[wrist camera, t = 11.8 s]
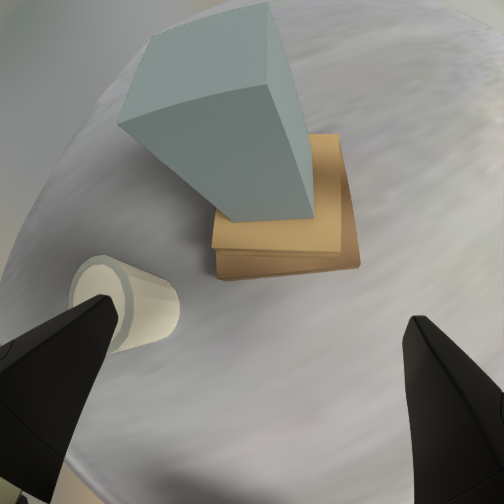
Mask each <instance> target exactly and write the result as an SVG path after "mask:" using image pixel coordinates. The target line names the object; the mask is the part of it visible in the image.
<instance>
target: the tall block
mask: <svg viewBox="0 0 504 504" xmlns="http://www.w3.org/2000/svg"><path fill="white" fill-rule="evenodd" d="M117 125H118V126H120V127H121V128H122V129H123V130H125V131H126V132H127V133H128V134H129V135H131V136H132V137H133V138H134V139H135V140H137V141H138V142H139V143H140V144H141V145H143V146H144V147H145V148H146V149H147V150H149V151H150V152H151V153H152V154H153V155H155V156H156V157H157V158H158V159H159V160H161V161H162V162H163V163H164V164H165V165H167V166H168V167H169V168H170V169H171V170H172V171H174V172H175V173H176V174H177V175H178V176H180V177H181V178H182V179H183V180H184V181H186V182H187V183H188V184H189V185H190V186H191V187H193V188H194V189H195V190H196V191H197V192H199V193H200V194H201V195H202V196H203V197H204V198H206V199H207V200H208V201H209V202H210V203H212V204H213V205H214V206H215V207H216V208H217V209H219V210H220V211H221V212H222V213H223V214H225V215H226V216H227V217H228V218H229V219H230V220H232V221H233V222H234V223H239V222H255V221H273V220H292V219H313V218H315V213H314V186H313V166H312V149H311V143H310V139H309V135H308V131H307V127H306V123H305V119H304V115H303V112H302V108H301V104H300V101H299V97H298V94H297V90H296V87H295V83H294V80H293V76H292V73H291V70H290V67H289V63H288V60H287V57H286V54H285V51H284V48H283V45H282V42H281V39H280V36H279V33H278V30H277V27H276V24H275V21H274V18H273V16H272V13H271V10H270V8H269V5H268V2H266V3H261V4H256V5H251V6H246V7H242V8H238V9H234V10H230V11H226V12H222V13H219V14H215V15H212V16H208V17H205V18H202V19H199V20H196V21H193V22H190V23H187V24H184V25H181V26H178V27H176V28H173V29H170V30H168V31H165V32H163V33H160V34H158V35H155V36H153V37H152V38H151V40H150V42H149V44H148V46H147V49H146V51H145V53H144V55H143V57H142V60H141V62H140V64H139V67H138V69H137V71H136V74H135V76H134V79H133V81H132V84H131V86H130V89H129V91H128V94H127V97H126V99H125V102H124V105H123V108H122V110H121V113H120V116H119V119H118V122H117Z"/></svg>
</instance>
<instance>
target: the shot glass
mask: <svg viewBox="0 0 504 504" xmlns="http://www.w3.org/2000/svg"><path fill="white" fill-rule="evenodd" d="M98 294H104V295H109V296H110V297H111V298H112V300H113V303H114V305H115V308H116V310H117V313H118V323H117V326H116V329H115V331H114V334H113V337H112V339H111V342H110V345H109V348H108V351H107V354H111V353H115V352H119V351H123V350H126V349H130V348H134V347H137V346H141V345H144V344H148V343H152V342H155V341H158V340H161V339H163V338H165V337H168V336H169V335H170V333H171V332H172V331H173V330H174V329H175V328H176V325H177V322H178V319H179V316H180V302H179V299H178V296H177V294H176V291H175V289H174V288H173V287H172V286H171V285H170V283H169V282H168V281H166V280H164V279H162V278H160V277H157V276H155V275H152V274H150V273H147V272H145V271H143V270H140V269H138V268H135V267H133V266H130V265H128V264H126V263H123V262H121V261H118V260H116V259H114V258H111V257H109V256H107V255H100V256H92V257H91V258H90V259H88V260H87V261H85V262H84V263H83V264H81V266H80V267H79V269H78V270H77V272H76V274H75V275H74V277H73V279H72V283H71V286H70V290H69V294H68V310H69V309H71V308H73V307H75V306H77V305H79V304H80V303H82V302H84V301H86V300H88V299H90V298H92V297H94V296H96V295H98ZM107 354H106V355H107Z"/></svg>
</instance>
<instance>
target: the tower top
mask: <svg viewBox="0 0 504 504" xmlns="http://www.w3.org/2000/svg"><path fill="white" fill-rule="evenodd" d="M308 135H309V139H310V143H311V149H312V166H313V186H314V213H315V218H313V219H292V220H273V221H255V222H239V223H234V222H233V221H232V220H230V219H229V218H228V217H227V216H226V215H225V214H223V213H222V212H221V211H220V210H219V209H217V208H216V212H215V220H214V228H213V237H212V246H211V248H213V249H215V250H217V251H218V252H220V253H222V254H224V255H238V256H265V257H291V258H319V259H340V254H341V171H340V148H339V134H308Z"/></svg>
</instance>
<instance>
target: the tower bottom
mask: <svg viewBox="0 0 504 504" xmlns="http://www.w3.org/2000/svg"><path fill="white" fill-rule="evenodd" d="M339 148H340V171H341V254H340V259H319V258H291V257H265V256H238V255H224V254H222V253H220V252H218V251H217V250H216V273H217V279H220V280H223V281H235V280H246V279H257V278H268V277H279V276H289V275H299V274H309V273H318V272H328V271H337V270H346V269H355V268H359V266H360V264H361V263H360V254H359V247H358V239H357V232H356V226H355V219H354V213H353V207H352V201H351V196H350V190H349V185H348V180H347V175H346V170H345V165H344V160H343V156H342V151H341V147H340V142H339ZM215 212H216V207H215Z"/></svg>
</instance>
